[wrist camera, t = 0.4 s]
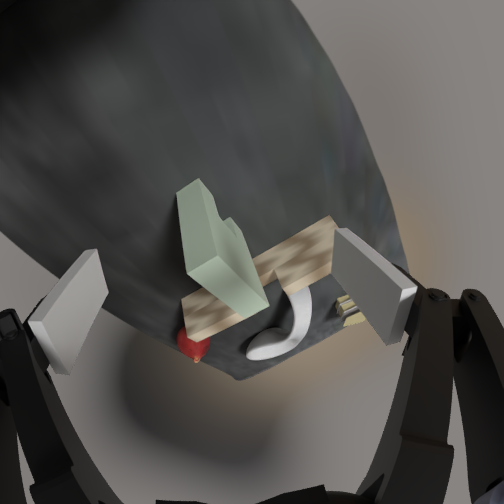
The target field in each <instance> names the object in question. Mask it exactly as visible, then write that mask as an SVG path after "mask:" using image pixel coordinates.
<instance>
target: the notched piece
mask: <svg viewBox="0 0 504 504" xmlns="http://www.w3.org/2000/svg"><path fill="white" fill-rule="evenodd" d="M176 194H177V203H178V212H179V221H180V229H181V237H182V244H183V251H184V258H185V265H186V272H187V274H188V275H189V276H190V277H192V278H193V279H194V280H195V281H197V282H198V283H199V284H200V285H202V286H203V287H204V288H205V289H207V290H208V291H209V292H211V293H212V294H213V295H214V296H216V297H217V298H218V299H220V300H221V301H222V302H223V303H225V304H226V305H227V306H229V307H230V308H231V309H233V310H234V311H235V312H237V313H238V314H239V315H241V316H242V317H243V318H247V317H249V316H251V315H253V314H255V313H257V312H259V311H261V310H263V309H265V308H266V307H268V306H269V303H268V301H267V298H266V295H265V293H264V290H263V287H262V285H261V282H260V279H259V277H258V274H257V271H256V269H255V266H254V263H253V261H252V258H251V255H250V253H249V250H248V247H247V245H246V242H245V239H244V237H243V234H242V231H241V230H240V229H239V227H238V226H237V225H236V224H235V223H234V221H233V220H232V219H231V218H230V217H229V218H227V219H226V220H224V221H222V220H221V218H220V217H219V215H218V212H217V208H216V205H215V202H214V198H213V195H212V194H211V193H210V192H209V191H208V189H207V188H206V187H205V186H204V184H203V183H202V182H201V181H200V180H199V178H198V179H196V180H195V181H193V182H192V183H190V184H189V185H187V186H186V187H184V188H183V189H181V190H180V191H178V192H177V193H176Z"/></svg>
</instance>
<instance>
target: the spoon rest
mask: <svg viewBox="0 0 504 504" xmlns="http://www.w3.org/2000/svg"><path fill="white" fill-rule="evenodd" d="M286 294H287V293H286ZM287 296H288V295H287ZM288 298H289V300H290V302H291V305H292V308H293V313H294V322H293V326H292V329H291V332H289V331H287V330H284V329H281V328H269V329H266V330H264V331H262V332H260V333H259V334H258V335H257V336H256V337H255V338H254V339H253V340H252V341H251V342H250V344H249V346H248V348H247V352H246V357H247V358H248V359H250V360H262V359H268V358H272V357H276V356H279V355H281V354H284V353H286V352H288V351H290V350H291V349H293V348H294V347H295V346H297V345H298V344H299V342H300V341H301V340H302V339H303V338H304V336H305V335H306V333H307V330H308V328H309V324H310V319H311V311H312V304H311V294H310V290H309V287H308V286H306V287H305V288H303V289H301V290H299V291H297V292H295V293H294V294H292V295H290V296H288Z"/></svg>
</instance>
